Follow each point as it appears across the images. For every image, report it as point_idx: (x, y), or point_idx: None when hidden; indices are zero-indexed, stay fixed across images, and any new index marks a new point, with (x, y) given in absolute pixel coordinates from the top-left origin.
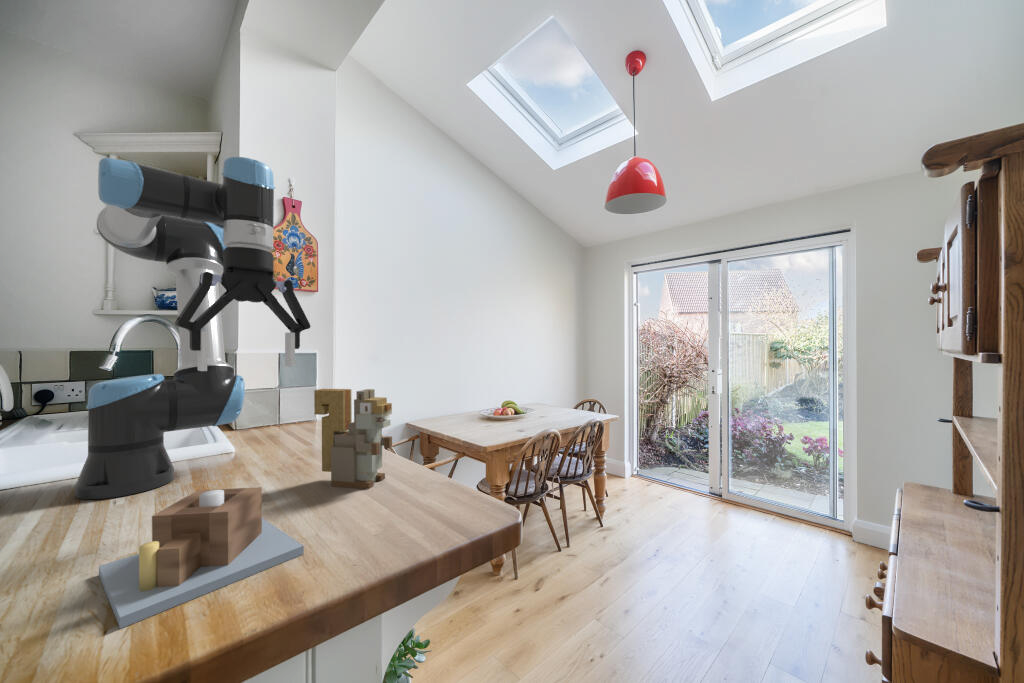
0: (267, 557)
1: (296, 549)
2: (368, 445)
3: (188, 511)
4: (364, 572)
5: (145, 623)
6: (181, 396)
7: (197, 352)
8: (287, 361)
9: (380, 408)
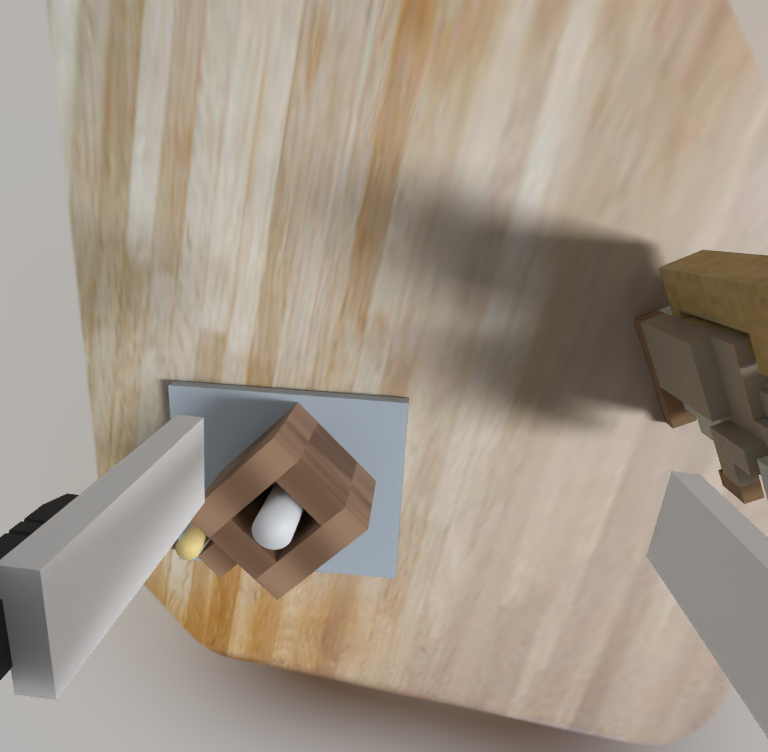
0: (344, 567)
1: (383, 576)
2: (733, 474)
3: (233, 544)
4: (418, 672)
5: None
6: None
7: (117, 465)
8: (676, 529)
9: None
